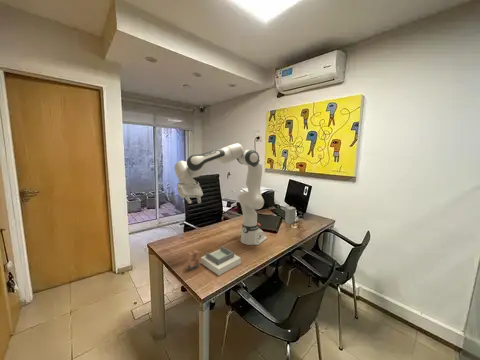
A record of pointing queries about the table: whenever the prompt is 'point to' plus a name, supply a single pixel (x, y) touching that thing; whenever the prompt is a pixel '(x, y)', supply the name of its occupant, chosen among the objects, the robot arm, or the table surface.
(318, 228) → the table surface
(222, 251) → the bay dock
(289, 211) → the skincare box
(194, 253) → the block
